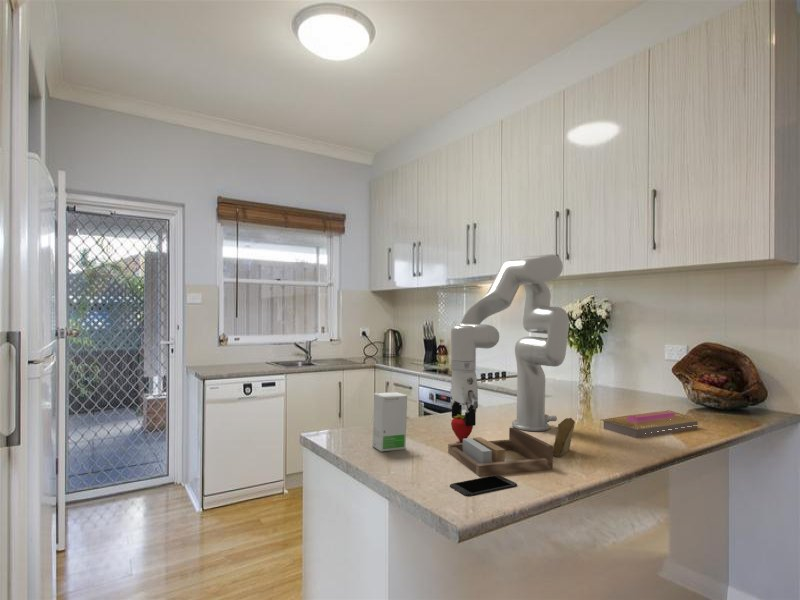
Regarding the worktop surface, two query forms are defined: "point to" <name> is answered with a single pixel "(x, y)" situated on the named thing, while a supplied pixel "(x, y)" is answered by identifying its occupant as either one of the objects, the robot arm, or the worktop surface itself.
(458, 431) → the strawberry
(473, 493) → the smartphone
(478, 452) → the outer offcut board
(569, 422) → the rock
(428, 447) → the worktop surface
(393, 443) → the skincare box
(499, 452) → the inner offcut board
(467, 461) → the rack
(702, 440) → the worktop surface
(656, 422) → the brown slab
